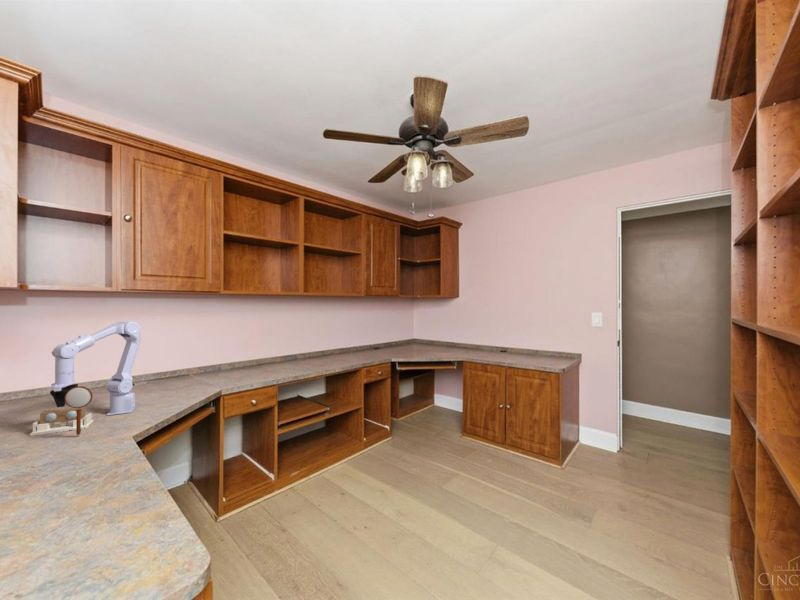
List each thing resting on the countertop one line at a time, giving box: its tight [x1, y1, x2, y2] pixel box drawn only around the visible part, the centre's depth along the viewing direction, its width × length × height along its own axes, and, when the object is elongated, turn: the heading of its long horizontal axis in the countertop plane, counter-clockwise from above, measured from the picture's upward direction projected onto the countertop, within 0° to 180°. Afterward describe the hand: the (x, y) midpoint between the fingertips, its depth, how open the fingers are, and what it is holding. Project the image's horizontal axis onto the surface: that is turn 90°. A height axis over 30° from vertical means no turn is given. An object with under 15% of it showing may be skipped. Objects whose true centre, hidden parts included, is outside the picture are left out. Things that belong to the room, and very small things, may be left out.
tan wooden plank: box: [39, 406, 86, 424], centre depth 142 cm, size 13×4×4 cm, turn 117°
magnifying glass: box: [65, 385, 93, 437], centre depth 134 cm, size 9×2×20 cm, turn 110°
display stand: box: [29, 412, 95, 437], centre depth 142 cm, size 17×9×4 cm, turn 117°
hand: (64, 404), depth 143 cm, fingers open, 7 cm apart
